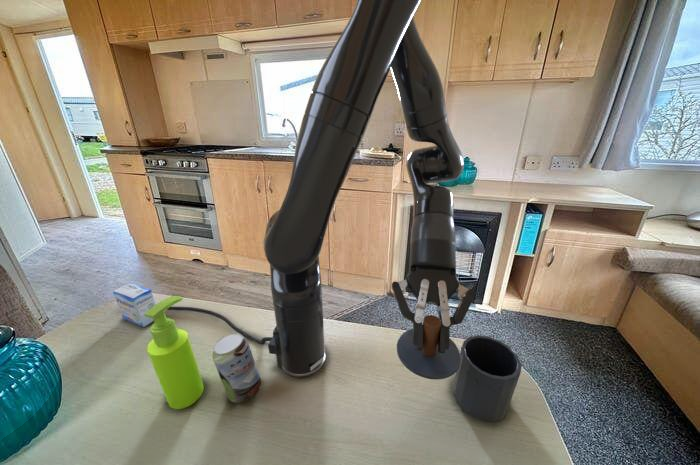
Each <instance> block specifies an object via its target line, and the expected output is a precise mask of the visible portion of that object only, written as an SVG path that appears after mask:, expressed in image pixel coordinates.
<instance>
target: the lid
mask: <svg viewBox="0 0 700 465" xmlns="http://www.w3.org/2000/svg"><path fill="white" fill-rule="evenodd" d="M422 324H423V350H417V345H414V344H413V328H411V329H408V330H406V331H404V332H403V333H402V334H401V335H400V336H399V338H398V340H397V342H396V354H397V357H398V359H399V361H400V363H401V364H402V365H403V366H404V368H406V369H407V370H408V371H410V372H411V373H413V374H414V375H416V376H418V377H421V378H424V379H427V380H439V381H440V380H445V379H448V378H450V377H452V376H454V375H455V374H456V372H457V370H458V369H459V366H460V362H461V355H460V351H461V350H460V349H459V347H458V346H457V344H456V343H455V342H454V341H453V340H452V339H451V338H450V346H449V349H445V353H439V352H438V339H439V333H440V327H441V320H440V319H439V316H436V315H432V314H427V315H426V316H423V320H422Z"/></svg>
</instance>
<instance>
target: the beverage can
mask: <svg viewBox="0 0 700 465" xmlns="http://www.w3.org/2000/svg"><path fill="white" fill-rule="evenodd" d="M212 350H213V351H212V353H211V354H212V356H211V357H212V361H213V363H214V366H215V368H216V371H217V373H218V376H219V378H220V381H221V383H222V385H223V388H224V391H225V392H226V393H225V394H226V395H227V397H228V399H229V401H231V402H232V403H236V404H237V403H239V404H240V403H243V402H247V401H248V400H250V399H251V398H253V397H254V396H255V395H256V394H257V393H258V391H259V390H260V388H261V387H262V386H261V385H262V379H261V375H260V373H259V370H258V367H257V364H256V361H255V358H254V355H253V352H252V349H251V346H250V344H249V341H248V338H246V337H245V336H243V335H241V334H240V333H238V332H235V333H234V332H233V333H229V334H227V335H224V336H223V337H221V338H220V339H218V340H217V341H216V342H215V344H213V347H212Z"/></svg>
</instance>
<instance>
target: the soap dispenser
mask: <svg viewBox="0 0 700 465" xmlns="http://www.w3.org/2000/svg"><path fill="white" fill-rule="evenodd" d="M182 300H183V297H182V296H178V295H172V296H169V297H167V298H165V299H163V300H161V301H160V302H158V303H156V305H155V306H154V307H152V308H151V309H150V310H148V311H147V312H146V313H144V314H145V316H146V317H149V318H152V319H153V320H154V321H153V324H152V325H151V326H150V327H149V328H150V333H151V336H152V339H151V340H150V341H149V343H148V345H147V346H146V351H147V354H148V356H149V359H150V361H151V363H152V366H153V369H154V371H155V373H156V376H157V379H158V381H159V384H160V386H161V389H162V392H163V394H164V396H165V398H166V401H167V404H168V406H169V407H170V408H171V409H174V410H182V409H185V408H188V407H190V406H192V405H193V404H194V403H196V402H197V401H198V400H199V399H200V397H201V396H202V394H203V392H204V389H205V388H204V387H205V386H204V383H203V380H202V377H201V373H200V370H199V367H198V363H197V360H196V357H195V353H194V350H193V347H192V343H191V341H190V338H189V334H188V332H187V330H185V329H182V328H177V325H176V322H175V320H174V319H173V318H169V317H167V315H166V311H167V309H168V308H169V307H173V306H174V305H176V304H178V303H179V302H182Z"/></svg>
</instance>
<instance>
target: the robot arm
mask: <svg viewBox="0 0 700 465" xmlns="http://www.w3.org/2000/svg"><path fill="white" fill-rule="evenodd" d="M421 2H422V0H357V2H356V5H355V8H354V10H353V12H352V15H351V16H350V18H349V20H348V22H347V24H346V26H345V27H344V29H343V31H342V33H341V34H340V36H339V38H338V39H337V40H336V42H335V44H334V46H333V47H332V49H331V50H330V52H329V54H328V56H327V57H326V58H325V60H324V62H323V64H322V66H321V68H320V70H319V72H318V74H317V76H316V78H315V81H314V84H313V85H312V89H311V92H310V94H309V97H308V101H307V104H306V107H305V110H304V113H303V116H302V120H301V124H300V127H299V132H298V136H297V141H296V145H295V150H294V151H295V152H294V157H293V163H292V169H291V175H290V181H289V184H288V186H287V187H288V188H287V191H286V193H285V196H284V199H283V201H282V203H281V206H280V208H279V209H278V210H276V211H275V212H274V213H273V214H272V215H271V216H270V217H269V219H268V221H267V223H266V225H265V232H264V238H263V252H264V255H265V258H266V260H267V262H268V264H269V269H270V270H269V272H270V290H271V297H272V303H273V311H274V319H275V327H274V329H273V330H272V336H264V337H262V338H261V339H259V338H256V337H255V336H252V335H250V334H249V333H247V332H245V331H244V330H242V329H241V328H239V327H237V326H236V325H235V324H234V323H233V322H232V321H231V320H230V319H228V317H226V316H224V315H222V314H220V313H218V312H216V311H213V310H209V309H206V308H205V309H204V308H198V307H193V306H171V307H169V308H168V309H167V310H168V311H191V312H197V313H202V314H203V313H204V314H208V315H211V316H213V317H216V318H218V319H220V320H222V321H224V322H225V323H226V324H227V325H228V326H229V327H230V328H231V329H233V331H235V332H236V333H238V334H241V335H242V337H244V338H246V339H247V340H249V341H253V342H255V343H257V344H260V345H265V344H266V342H268V343H267V346H268V353H269V354H271V355H275V357H276V362H277V363H276V366H277V368H280V369H281V370H283V372H284V373H285V374H286V375H288V376H289V377H292V378H298V379H299V378H307V377H310V376H313V375H314V374H316V373H318V372H319V371H320V370H321V369H322V368H323V366H324V364H325V362H326V347H325V329H324V327H325V326H324V308H323V289H322V288H323V286H322V274H321V265H320V254H321V252H322V248H323V243H324V239H325V236H326V233H327V229H328V225H329V222H330V218H331V215H332V211H333V208H334V205H335V202H336V199H337V198H338V195H339V193H340V191H341V188H342V187H343V185H344V182H345V180H346V178H347V176H348V173H349V172H350V169H351V167H352V164H353V162H354V159H355V157H356V155H357V152H358V150H359V148H360V146H361V143H362V142H363V139H364V136H365V134H366V131H367V129H368V126H369V124H370V122H371V119H372V116H373V113H374V110H375V107H376V105H377V102H378V100H379V96H380V94H381V92H382V89H383V88H384V85H385V83H386V81H387V77H388V75H389V73H390V71H391V74H392V77H393V80H394V83H395V86H396V89H397V90H396V91H397V94H398V98H399V103H400V106H401V110H402V115H403V120H404V123H405V128H406V132H407V135H408V137H409V139H410V140H411V141H413V142H416V143H417V142H418V143H431V144H433V145H432V146H427V147H420V148H417V149H414V150H412V151H411V152H410V154H408V156H407V159H406V163H405V167H406V172H407V175H408V178H409V181H410V186H411V190H412V196H413V211H412V212H413V213H412V214H413V215H412V225H411V231H410V239H409V243H410V245H409V246H410V247H409V268H408V274H407V275H406V277H405V279H402V280H400V281H395V280H394V281H393V282H392V283H391V291H392V293H393V295H394V298H395V300H396V303H397V306H398V308H399V310H400V311H399V312H400V313H401V316H402V317H403V319H406V320H407V321H409V322H411V323H412V329H413V344H414V345H417V350H423V320H424V313H425V309H426V304H433V305H436V310H437V311H436V312H437V315H438V318H439V319H440V320H441V327H440V333H439V339H438V352H439V353H445V349H449V346H450V339H451V337H450V333H451V332H450V329H451V327H452V326H456V325H460V324H462V323H463V321H464V319H465V317H466V315H467V313H468V311H469V309H470V307H471V305H472V303H473V301H474V299H475V296H476V295H477V292H476V290H475V289H474V288H468V287H466V286H464V285H462V284H460V280H459V279H458V276H457V247H456V246H457V245H456V244H457V243H456V240H457V239H456V226H455V220H454V218H455V217H454V208H455V207H454V204H455V203H454V195H453V193H452V191H451V190H450V189H449V188H447V187H445V186H441V185H435V184H436V183H444V182H451V181H455V180H457V179H458V178H459V177H460V176H461V175H462V173H463V171H464V168H465V161H464V156H463V153H462V151H461V149H460V146H459V145H458V142H457V141H456V139H455V137H454V135H453V132H452V130H451V127H450V124H449V119H448V115H447V106H446V100H445V99H446V98H445V93H444V88H443V83H442V79H441V76H440V73H439V71H438V69H437V66H436V65H435V63H434V61H433V59H432V57H431V56H430V53H429V51H428V50H427V48H426V46H425V44H424V42H423V39H422V38H421V35H420V33H419V29H418V27H417V25H416V21H415V18H414V15H415V13H416V11H417V9H418V7H419V6H420V4H421ZM407 287H408V288H409V290H410V291H411V293H412V295H413V297H415V299H416V302H415V307H414V312H413V311H411V310H410V307H409V304H408V302H407V300H406V298H405V294H406V292H407V289H406V288H407ZM455 292H457V299H458V300H459V303H458V305H457V306H456V309H455V310H454V313H453V315H452V316H450V304H449V300H450V299H451V298H452V296H453V295H454V294H455ZM167 310H166V311H167Z"/></svg>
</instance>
